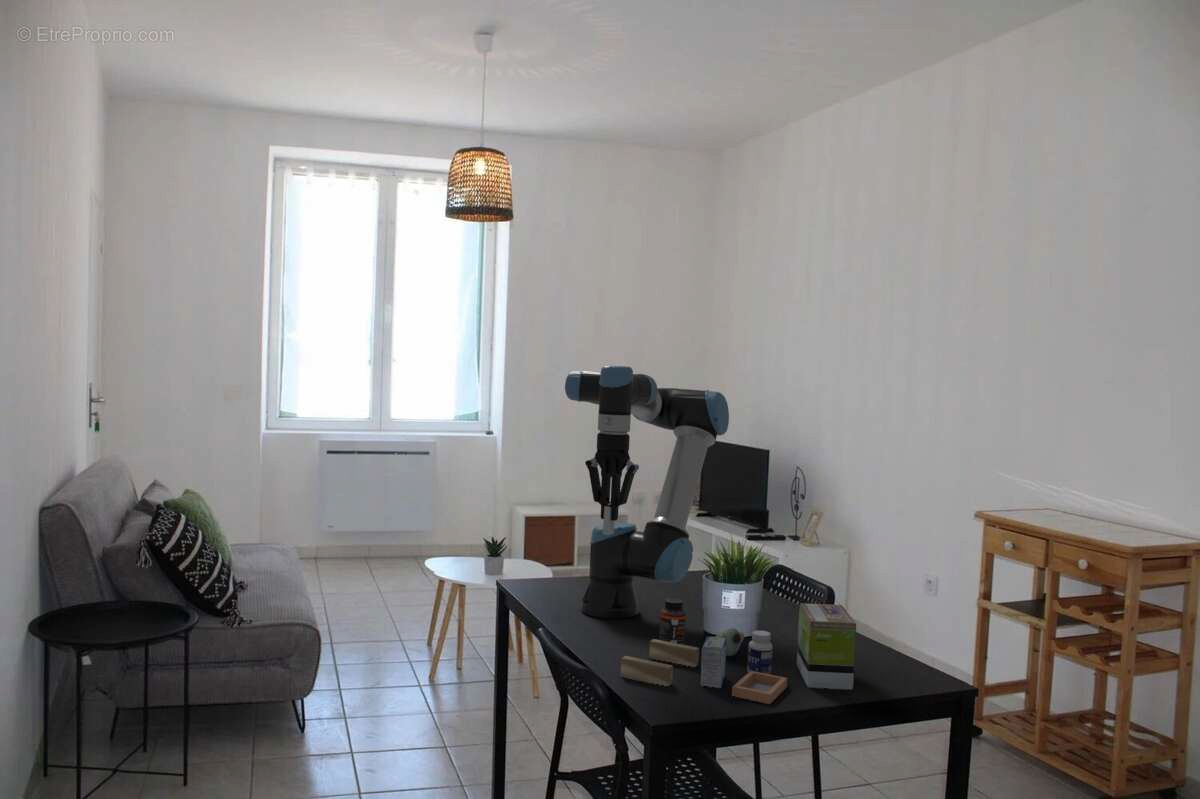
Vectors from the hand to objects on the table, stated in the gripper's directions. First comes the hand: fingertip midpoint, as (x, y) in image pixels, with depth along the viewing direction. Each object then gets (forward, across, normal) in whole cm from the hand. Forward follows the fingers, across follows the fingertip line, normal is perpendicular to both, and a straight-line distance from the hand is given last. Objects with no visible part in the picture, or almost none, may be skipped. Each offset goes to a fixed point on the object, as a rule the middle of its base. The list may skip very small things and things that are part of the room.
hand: (608, 533), depth 234 cm
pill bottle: (+27, +37, +3) cm, 46 cm away
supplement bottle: (+27, +14, +8) cm, 31 cm away
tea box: (+27, +50, +8) cm, 57 cm away
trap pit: (+26, +41, -9) cm, 50 cm away
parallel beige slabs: (+26, +18, -9) cm, 33 cm away
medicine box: (+27, +30, -9) cm, 42 cm away
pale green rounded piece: (+27, +28, +10) cm, 40 cm away
